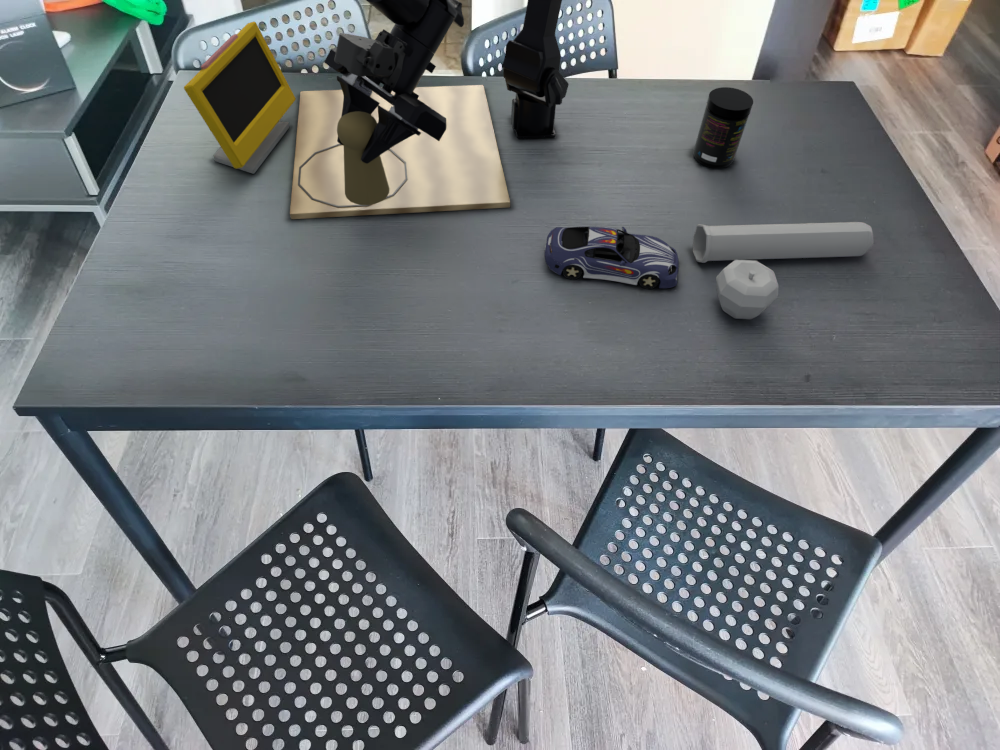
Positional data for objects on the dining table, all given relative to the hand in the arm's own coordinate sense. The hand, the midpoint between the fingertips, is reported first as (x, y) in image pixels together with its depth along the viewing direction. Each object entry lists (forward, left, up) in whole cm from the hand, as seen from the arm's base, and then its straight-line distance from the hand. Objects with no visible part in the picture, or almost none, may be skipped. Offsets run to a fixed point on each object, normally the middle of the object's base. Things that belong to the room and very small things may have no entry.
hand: (351, 152), depth 90 cm
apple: (-49, +20, -13) cm, 54 cm away
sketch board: (-6, -21, -13) cm, 26 cm away
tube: (-59, +10, -13) cm, 61 cm away
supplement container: (-57, -14, -13) cm, 60 cm away
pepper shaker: (-1, -1, -7) cm, 7 cm away
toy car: (-34, +10, -13) cm, 38 cm away
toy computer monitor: (+17, -23, -13) cm, 32 cm away
